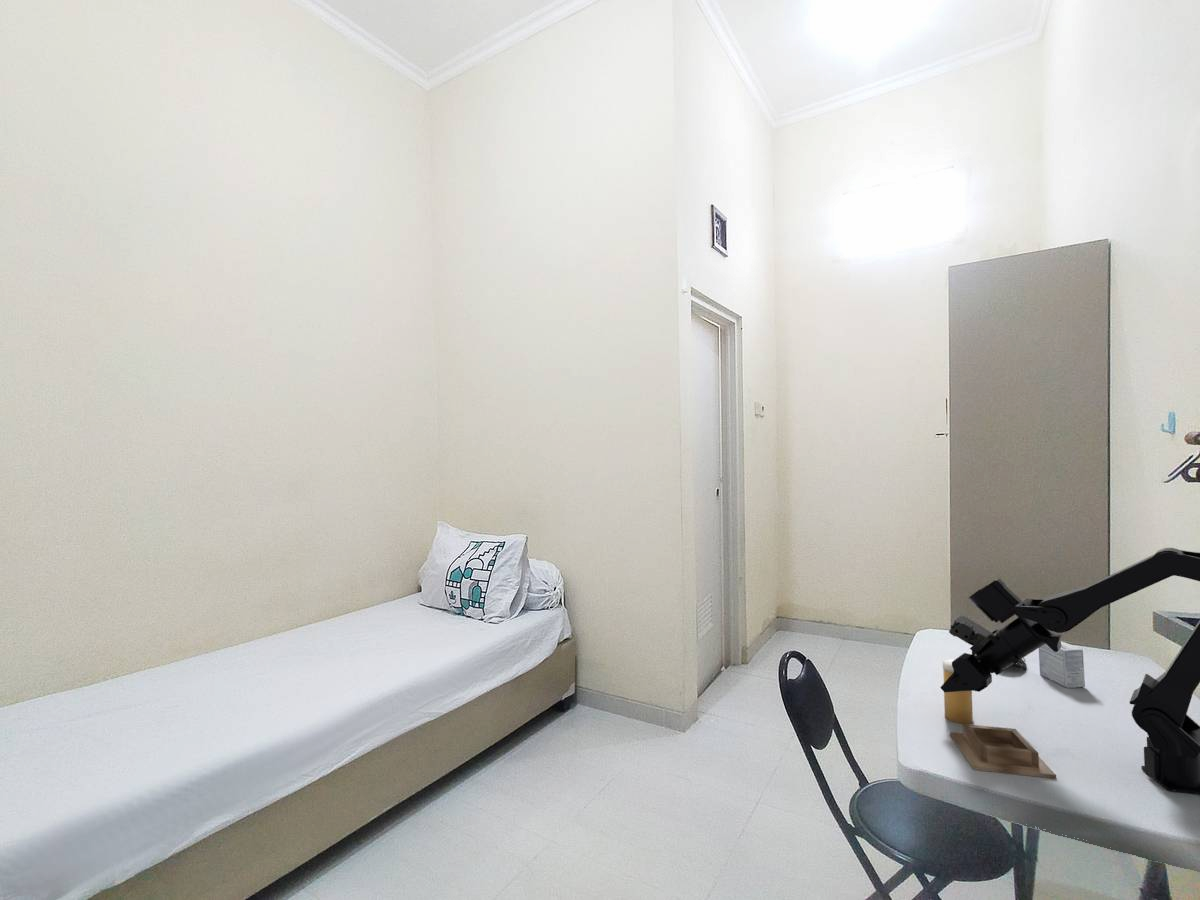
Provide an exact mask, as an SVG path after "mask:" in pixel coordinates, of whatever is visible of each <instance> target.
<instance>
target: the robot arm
mask: <svg viewBox="0 0 1200 900" xmlns="http://www.w3.org/2000/svg"><path fill="white" fill-rule="evenodd" d="M1173 576H1175V577H1181V578H1185V579H1189V580H1193V581H1197V582H1200V552H1197V551H1189V550H1183V549H1178V548H1175V547H1164V548H1161V549H1159V550H1157V551H1156V552H1155V553H1154V554H1152V555H1150V556H1147V557H1145V558H1144V559H1141V560H1139V561H1137V562H1135V563H1133V564H1131V565H1129V566H1126V567H1125V568H1122V569H1120V570H1118V571H1116V572H1113V573H1112V574H1109V575H1107V576H1105V577H1103V578H1102V579H1099V580H1097V581H1095V582H1093V583H1091V584H1089V585H1085V586H1082V587H1079V588H1074V589H1070V590H1066V591H1062V592H1059V593H1054V594H1052V595H1049V596H1047V597H1046V598H1024V599H1021V598H1020V597H1019V596H1017V595H1016V594H1015V593H1014V591H1012V590H1011V589H1010V588H1009V587H1008V585H1007V584H1006V583H1005V582H1004V581H1003V580H1002V579H1001V578H996V579H994V580H993V581H992V582H989V584H986V585H985V586H983V587H981V588H980V589H978V590H977V591H975V592H974V593H973V594H971V595H970V596H969V597H968V599H969V601H970V602H972V604H973V605H974V606H975V607H976V608H977V609H979V611H980V612H982V614H983V615H985V616H986V617H987V619H989V620H990V622H995V623H999V622H1000V624H1003V623H1005V622H1006V621H1008V620H1009V619H1011V618H1012V617H1014V616H1016V618H1015V619H1014V620H1012V621H1010V622H1009V623H1007V624H1006V625H1005V626H1003V627H1002V628H999V629H995V630H993V631H990V630H988V629H986V628H985V627H984V626H982V625H981V624H979V623H977V622H975V621H973V620H971V619H970V618H969V617H966V616H965V615H960V616H958V617H957V618H955V620H954V621H953V623H952V625H950V628H949V630H948V633H949V634H950V635H952V636H953V637H957V638H958V639H960V640H962V641H963V642H965V643H966V644H968V645H970V646H971V647H970V648H969V649H970V650H971V653H967V652H964V653H962V654H961V655H959V656H957V658H955V659H953V660H954V661H953V662H952V667H953V670H954V672H953V673H952V675H951V676H950V677H949V678H948V679H947V680H946V681H945V683H944V682H943V684H941V686H940V690H942V691H943V693H944V692H956V691H972V692H973V691H974V692H978V693H979V692H980V693H981V691H983V690H985V689H986V688H988V686H990V684H992V682H993V675H992V674H995V675H996V676H999V675H1000V674H1001V673H1002V672H1003V671H1005V670H1006V669H1007V668H1010V667H1009V666H1011V665H1012V664H1016V663H1017V662H1019V661H1020V660H1021V659H1022V660H1023V657H1024V658H1025V657H1026V656H1028V655H1029V654H1032V653H1033V652H1034V651H1036V650H1037V649H1038V650H1039V647H1041V646H1043V645H1044V644H1047V645H1048V646H1049V647H1050V648H1051V649H1052V650H1053V651H1054V652H1058V651H1059V649H1060V648H1061V647H1062V645H1061V641H1062V637H1063V635H1062V633H1066V632H1067V633H1068V632H1069V631H1071V630H1072V629H1074V628H1075V627H1077V626H1078V625H1080V624H1081V623H1082V622H1084V621H1085V620H1086V619H1088V618H1089V617H1090V616H1092V615H1093V614H1095V612H1097V611H1099V610H1100V609H1102V608H1103V607H1105V606H1108V605H1110V604H1113V603H1115V602H1116V601H1119V600H1121V599H1124V598H1126V597H1128V596H1130V595H1132V594H1135V593H1138V592H1139V591H1141V590H1144V589H1147V588H1148V587H1150V586H1152V585H1154V584H1157V583H1160V582H1161V581H1163V580H1166V579H1169V578H1171V577H1173ZM1199 685H1200V619H1199V621H1198V622H1197V623H1196V625H1195V627H1194V628H1193V630H1192V631H1191V632H1190V634H1189V636H1188V637H1187V639H1186V640H1185V641H1184V643H1183V645H1182V646H1181V648H1180V649H1179V651H1178V653H1176V655H1175V657H1174V658H1173V660H1172V661H1171V663H1170V665H1169V666H1168V667H1167V669H1166V670H1165V672H1163V673H1162V674H1160V675H1159V676H1158V677H1157V678H1156V679H1155V677H1152V675H1150V674H1148V673H1145V675H1144V676H1143V680H1142V682H1141V685H1140V686H1139V687H1138V688H1136V689H1134V690H1133V693H1132V694H1131V698H1130V700H1129V705H1133V707H1132V710H1131V717H1132V719H1133V721H1134V723H1135V724H1136V725H1137V726H1138V727H1139V728H1140V729H1141V730H1143V731H1144V732H1145V733H1146V734H1147V736H1146V746H1144V747H1143V764H1144V765H1141V770H1142V771H1143V772H1144V773H1146V774H1147V775H1148V776H1149V777H1150V778H1152V779H1153V780H1154V781H1155V782H1157V783H1158V784H1159V785H1160V786H1162V787H1163V788H1164V789H1165V790H1168V791H1171V792H1180V793H1190V794H1199V795H1200V724H1198V723H1197V722H1196V721H1195V720H1194V719H1192V718H1191V716H1189V715H1188V714H1187V713H1188V710H1189V707H1190V705H1191V701H1192V699H1193V698H1192V697H1193V695H1194V692H1195V690H1196V689H1197V687H1198V686H1199Z"/></svg>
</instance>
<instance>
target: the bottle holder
mask: <svg viewBox="0 0 1200 900" xmlns="http://www.w3.org/2000/svg"><path fill="white" fill-rule="evenodd" d="M949 736H950V737H951V739H952V741H953V740H954V741H953V743H955V745H956V746H957V748H958V749H959V751H960V752H961V753H962V755H963V757H964V756H965V760H966V761H967V763H968V764H969V766H971V768H972V769H973V770H974V771H975V770H976V771H983V772H993V773H1000V774H1002V773H1003V774H1011V775H1020V776H1027V777H1028V776H1031V777H1036V778H1037V777H1038V778H1039V777H1040V778H1046V779H1047V777H1048V779H1055V778H1056V779H1057V774H1056V773H1055V772H1054V771H1053V770H1052V769H1051V768H1050V767H1049V765H1047V763H1046V762H1045V761H1044V760H1043V759H1042V758H1041V757H1040V756H1039V752H1038V751H1037V750H1036V749H1035V747H1033V746H1032V745H1031V744H1030V743H1029V741H1027V740H1026V738H1025V737H1024V736H1023V735H1022V734H1021V733H1020V732H1019V731H1018V730H1017V728H1011V727H1010V728H1009V727H998V726H988V725H978V724H977V725H976V724H962V732H952V731H950V732H949Z"/></svg>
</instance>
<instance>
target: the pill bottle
mask: <svg viewBox="0 0 1200 900" xmlns="http://www.w3.org/2000/svg"><path fill="white" fill-rule="evenodd" d="M954 660H955V659H944V660H942V664H941V665H942V670H943V684H944V683H945V681H946V680H947V679H948V678H949V677H950V676H951V675H952V673H953V672H954V670H953V667H952V662H953V661H954ZM972 692H973V691H956V692H944V691H943V701H944V704H943V705H944V717H945V718H946V719H947V720H949V721H950V722H953V723H955V724H956V723H957V724H967V725H970V724H972V723H973V722H974V718H973V715H974V714H973V693H972Z"/></svg>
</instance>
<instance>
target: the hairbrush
mask: <svg viewBox="0 0 1200 900" xmlns="http://www.w3.org/2000/svg"><path fill="white" fill-rule="evenodd" d="M1008 668H1013V669H1017V670H1024V671H1026V670H1027V663H1026V658H1025V657H1023V658H1022V659H1021V660H1020V661H1019V662H1017V664H1012V665H1011V666H1009V667H1008Z"/></svg>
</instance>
